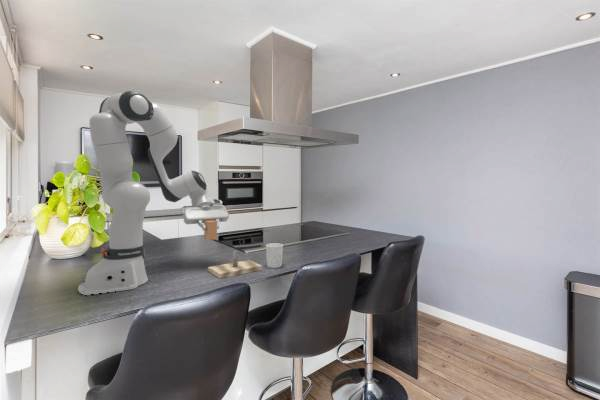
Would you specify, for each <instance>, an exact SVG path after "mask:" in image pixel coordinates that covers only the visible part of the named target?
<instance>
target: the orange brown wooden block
mask: <svg viewBox="0 0 600 400" xmlns="http://www.w3.org/2000/svg"><path fill="white" fill-rule="evenodd" d="M203 224H204V225H206V227H207V229H206V230H203V231H204V232H203V236H204V238H203V239H204V240H207V241H214V240H217V239H218V229H217V221H214V220H211V221H204V223H203Z"/></svg>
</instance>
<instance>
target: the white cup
mask: <svg viewBox="0 0 600 400" xmlns="http://www.w3.org/2000/svg"><path fill="white" fill-rule="evenodd" d="M265 249H266V250H265V252H266V254H265V255H266V265H267V268H271V269H277V268H281V267H282V266H283V265H282V263H283V254H284V253H283V252H284V244H283V243H277V242H276V243H274V242H272V243H271V242H270V243H266V245H265Z"/></svg>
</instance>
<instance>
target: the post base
mask: <svg viewBox="0 0 600 400" xmlns="http://www.w3.org/2000/svg"><path fill="white" fill-rule="evenodd" d="M238 256H239V254H238V251H237V250H234V251H233V252H232V262H229V263H225V264H219V265H213V266H208V267H207V272H208V273H210V275H213V276H214V277H216V278H218V279H220V280H221V279H225V278H230V277H236V276H240V275H244V274H249V273H254V272H258V271H263V265H261V264H259V263H257V262H255V261H253V260H250V259H246V260H241V261H240V260H238V259H239V257H238Z"/></svg>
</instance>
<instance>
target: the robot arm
mask: <svg viewBox="0 0 600 400" xmlns="http://www.w3.org/2000/svg"><path fill="white" fill-rule="evenodd" d="M134 123H136V124H138V125H139V126H140V127H141V128H142V130H143V132H144V133H145V135H146V137H147V138H148V141H149V148H148V149H147V154H148V159H149V161H150V164H151V166H152V169H153V171H154V173H155V176H156V179H157V181H158V184H159V187H160V189H161V193H162V195H163V198H164V199H165V200H166V201H168V202H171V203H177V202H179V201H180V200H182V199H183V198H186V197H188V196H189V199H190V200H191V201H190V203H191V205H184V206H182V207H181V208H180V211H181V213H182V215H183V223H185V224H186V225H194V224H195V225H197V226H198V227H200V228H201V229H202V231H204V230H206V229H207V227H206V225H204V221H211V220H214V221H217V230H219V229H220V225H219V223H223V222H224V223H225V222H227V221H228V219H229V218H230V217H229V216H230V215H229V211H228V209H227V208H226V206H225V205H223V201H222V200H221V199H217V198H213V197H211V196H210V195H209V191H208V188H207V183H206V181H205V178H204V176H203V174H201V172H198V171H195V170H190V171H187V172H185V173H183V174H181V175H179V176H176V177H174V178H172V179H171V178H169V175H168V174H167V171H166V169H165V166H164V163H163V160H164V158H165V157H166V156H167V155H169V154H170V152H172V150H173V149H175V148H174V147H176V145H177V142H178V137H179V136H178V133H177V131H176V128H175V127H174V125H173V123H172V122H171V120H170V118H169V117H168V115H167V114H166V112H165V111H164V110H163V109H162V107H161V106H160V105H159V104H157V103H154V102H151V101H150V100H149V99H148V98H147V96H146V95H145V94H143V93H141V92H139V91H136V90H127V91H125V92H121V93H119V92H118V93H115V94H113V95H111V96H109V97H106V98H104V99H103V100H102V102H101V103H100V105H99V112H98V113H96V114H95V113H94V115H92V116H91V117H90V118H89V131H90V138H91V143H92V147H93V150H94V153H95V157H96V161H97V165H98V168H99V175H100V177H99V178H100V186H101V198H102V200H103V202H104V203H105V204H106V205H107V206H108V207H110V208H111V209H112V216H111V221H110V224H109V226H108V237H109V239H108V241H109V244H108V245H109V247H108V248H106V247H102V248H101V249H100V253H101V254H102V256H103V257H102V259H101V260H100V261H98V262H97V263H96V264H94V265H93V266H92V267H90V268H89V269H88V271H87V272H86V275H85V281H84V282H82V283H80V284H79V285H78V287H77V292H78V291H79V293H81V294H84V295H83V296H85V295H87V296H92V295H91V294H94V295H100V294H99V293H102V294H108V293H107V292H109V293H115V291H116V292H121V291H123V292H124V291H129V290H134V289H136V288H138V287H139V286H141V285H143V284H145V283H147V282H148V281H149V278H148V275H147V271H146V266H145V260H144V259H145V255H146V253H145V245H144V243H143V241H144V240H143V239H144V238H143V237H144V235H143V234H144V233H143V232H144V231H143V230H144V229H143V225H144V220H145V219H144V218H145V214H146V209H147V206H148V205H149V203H150V201H151V193H150V191H149V189H148V188H147V187H146V186H145V185H143V184H141V183H139V182H137V181H133V180H134V178H133V166H134V159H133V156H132V153H131V148H130V145H129V144H130V143H129V140H128V137H127V134H126V128H127V126H128V125H131V124H134ZM79 293H78V294H79ZM81 294H80V295H81Z"/></svg>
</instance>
